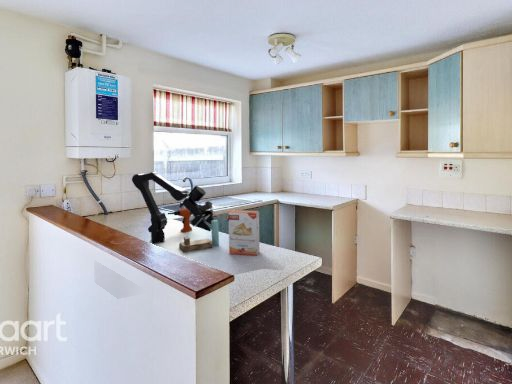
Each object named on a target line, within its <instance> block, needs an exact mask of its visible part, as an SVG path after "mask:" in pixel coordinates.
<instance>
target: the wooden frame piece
mask: <svg viewBox="0 0 512 384" xmlns="http://www.w3.org/2000/svg"><path fill="white" fill-rule="evenodd" d="M213 247H214V246H213V245H212V243H208V244H201V245H195V246H188V247H183V246H182V245H181V244H180V242H178V248H179V249H180V251H182V253H189V252H196V251H203V250H208V249H214V248H213Z"/></svg>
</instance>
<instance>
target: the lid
mask: <svg viewBox="0 0 512 384" xmlns="http://www.w3.org/2000/svg"><path fill="white" fill-rule="evenodd" d="M179 243H180V244H181V245H182V246H183V247H188V246H195V245H201V244H208V243H213V242H212V239H211V238H201V239H194V240H191V239H190V237H189V236H183V241H180V242H179Z"/></svg>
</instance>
